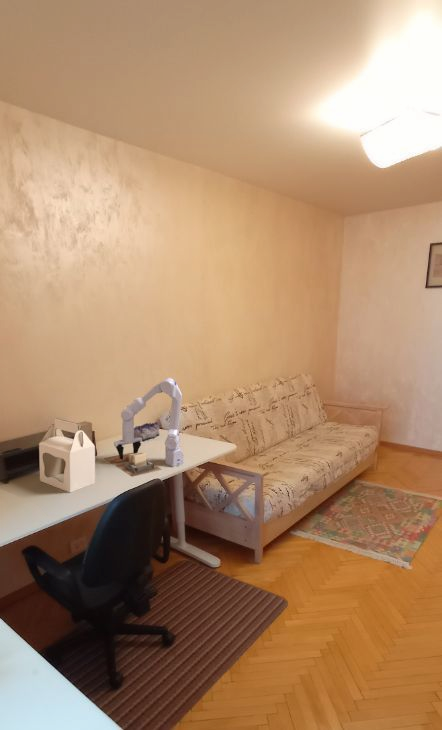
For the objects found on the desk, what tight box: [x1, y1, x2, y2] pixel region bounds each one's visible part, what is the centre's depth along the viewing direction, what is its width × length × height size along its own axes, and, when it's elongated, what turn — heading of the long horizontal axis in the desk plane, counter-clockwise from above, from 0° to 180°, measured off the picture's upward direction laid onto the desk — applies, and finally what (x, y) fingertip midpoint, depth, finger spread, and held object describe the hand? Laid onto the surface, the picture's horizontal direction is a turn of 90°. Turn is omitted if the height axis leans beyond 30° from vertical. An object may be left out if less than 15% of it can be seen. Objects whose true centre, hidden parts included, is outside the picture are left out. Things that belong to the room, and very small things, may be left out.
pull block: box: [115, 452, 147, 467], centre depth 208 cm, size 16×12×6 cm
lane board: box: [103, 452, 163, 478], centre depth 209 cm, size 32×16×4 cm, turn 39°
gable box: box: [38, 418, 96, 493], centre depth 185 cm, size 22×13×28 cm, turn 56°
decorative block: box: [67, 421, 93, 443], centre depth 211 cm, size 11×6×20 cm, turn 147°
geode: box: [134, 421, 160, 441], centre depth 259 cm, size 20×12×10 cm, turn 147°
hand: (128, 457), depth 212 cm, fingers open, 7 cm apart
